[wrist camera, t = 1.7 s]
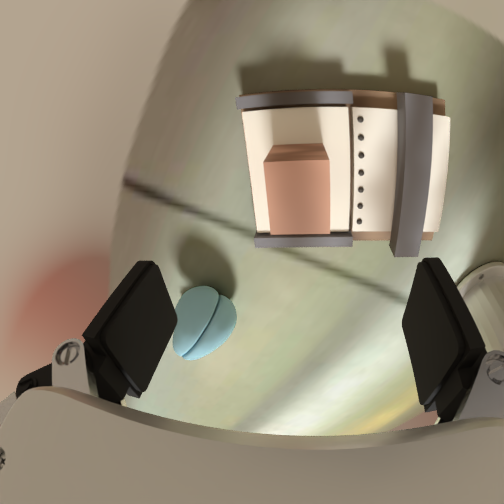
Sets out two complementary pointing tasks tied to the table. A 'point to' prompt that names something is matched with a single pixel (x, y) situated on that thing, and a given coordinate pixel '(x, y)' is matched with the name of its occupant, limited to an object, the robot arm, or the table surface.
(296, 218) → the block on cream tray
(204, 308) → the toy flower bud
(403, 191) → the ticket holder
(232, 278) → the table surface
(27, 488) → the robot arm
